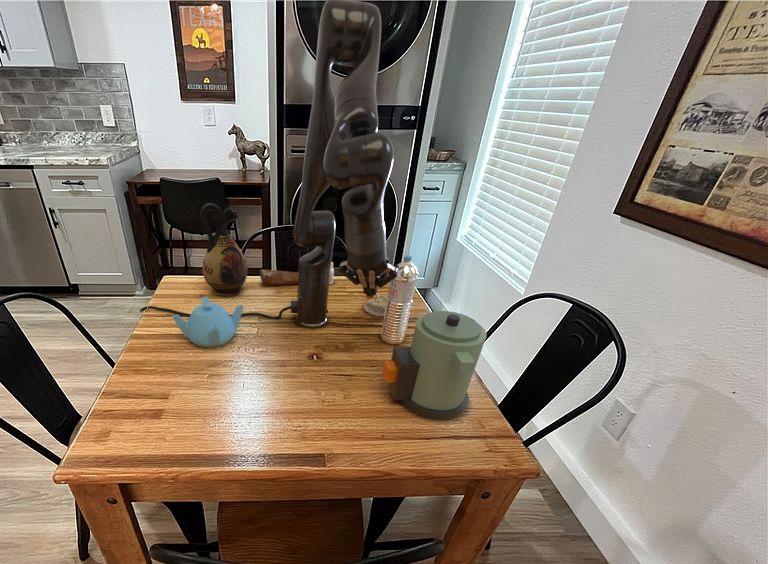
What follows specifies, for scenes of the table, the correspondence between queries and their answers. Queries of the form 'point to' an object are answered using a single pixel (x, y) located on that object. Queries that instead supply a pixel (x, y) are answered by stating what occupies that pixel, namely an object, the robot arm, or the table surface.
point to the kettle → (438, 365)
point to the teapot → (209, 324)
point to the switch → (390, 371)
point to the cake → (376, 305)
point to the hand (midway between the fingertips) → (370, 293)
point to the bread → (278, 277)
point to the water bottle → (399, 303)
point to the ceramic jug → (222, 254)
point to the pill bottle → (331, 273)
